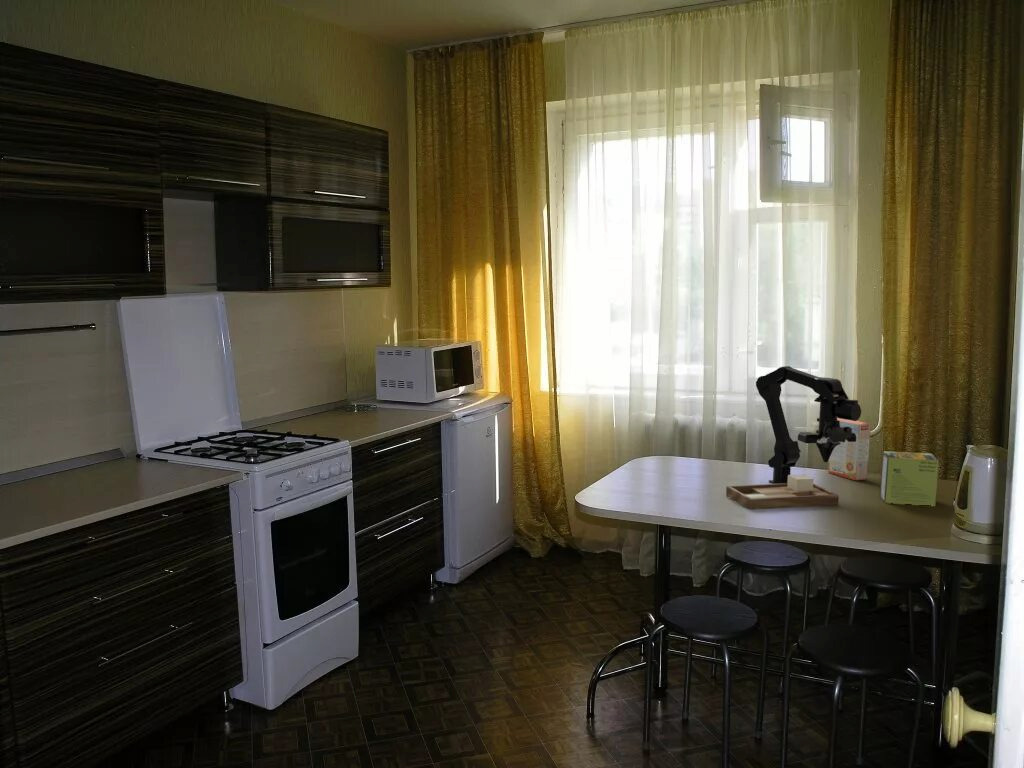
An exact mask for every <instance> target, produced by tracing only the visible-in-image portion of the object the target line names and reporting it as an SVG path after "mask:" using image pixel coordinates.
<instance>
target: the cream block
mask: <svg viewBox="0 0 1024 768" xmlns="http://www.w3.org/2000/svg"><path fill="white" fill-rule="evenodd" d="M814 480H815V479H814V478H813V477H811V476H808V475H807V474H790V475H788V483H787V487H789V488H791V489H793V490H795V491H811V490H813V483H814Z"/></svg>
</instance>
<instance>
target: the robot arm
mask: <svg viewBox="0 0 1024 768" xmlns="http://www.w3.org/2000/svg"><path fill="white" fill-rule="evenodd" d="M756 379H757V380H756V381H755V387H756V390H757V392H758V394H759V396H760V397H761V398H762V400H764V402H765V404H766V410H767V411H768V416H769V420H770V423H771V427H772V432H773V434H774V438H775V442H774V447H773V456H772V457H771V458H770V459H769V460H767V463H768V468H772V471H773V472H772V479H769V480H768V482H769V483H770V484H780V483H788V475H791V470H792V469H791V467H796V464H797V462H798V461H799V459H800V458H801V453H802V451H801V449H800V447H799V442H801V443H804V444H816V447H817V449H818V450H819V453H820V455H821V458H822V461H823V463H829V458H830V456H831V453H832V451H833V450H834V448H835V447H836V446H837V445H840V444H841V443H839V442H845V441H846V440H847V441H848V442H856V438H857V436H856V434H855V433H853V432H852V429H851V428H850V427H840V422H839V420H837V418H840V419H846V420H852V421H859V419H860V418H861V416H862V408H861V406H860V404H859V400H858V399H849V396H848V395H847V393H846V391H845V390H844V387H843V385H842V381H841V380H840V379H838V378H834V377H832V378H831V377H821V376H820V377H819V376H816V375H814V374H811V373H808V372H805V371H802V370H799V369H797V368H794V367H791V366H790V365H788V366H787V365H786V366H780V367H778V368H776V369H775V370H773V371H771V372H769V373H766V374H765V375H761V376H759V377H758V378H756ZM786 381H790V382H793V383H797V384H798V385H802V386H803V387H807V388H809V389H811V390H813V392H814V393H816V394H818V396H817V397H816V398H815V399H814V402H815V403H819V416H818V417H817V418H816V422H818V429H816V430H815V431H816V432H815V433H812V432H811V431H801V432H799V433H798V435H797V440H793V439H792V438H791V435H790V433H789V429H788V425H787V421H786V418H785V414H784V410H783V407H782V402H781V394H782V385H783V384H784V383H786ZM798 441H799V442H798Z"/></svg>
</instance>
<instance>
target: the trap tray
mask: <svg viewBox="0 0 1024 768" xmlns="http://www.w3.org/2000/svg"><path fill="white" fill-rule="evenodd" d="M725 489H726V491H725V496H726V497H728V498H729V499H731V500H733V501H735V502H737V503H738V504H739V505H742V506H743V507H745V508H747V509H748V510H768V509H784V508H787V509H788V508H804V507H806V508H807V507H822V506H825V507H826V506H839V498H840V494H838V493H835V492H833V491H831V490H829V489H826V488H824V487H822V486H820V485H818V484H817V483H815V482H813V490H811V491H795V490H793V489H791V488H789V487H787V483H780V484H773V483H763V484H743V485H742V484H741V485H726V487H725Z"/></svg>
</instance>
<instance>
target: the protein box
mask: <svg viewBox="0 0 1024 768" xmlns="http://www.w3.org/2000/svg"><path fill="white" fill-rule="evenodd" d="M881 458H882V459H881V473H880V475H881V476H880V487H879V488H880V490H879V492H880V493H879V496H880V498H881V499H882V501H883V502H884V503H885V504H891V503H893V504H892V505H894V504H895V505H905V504H912V505H911V506H919V505H931V506H930V507H933V506H934V507H936V502H937V489H938V488H937V487H938V477H939V475H938V473H939V462H940V460H939V459H938V458H937V457H936V456H935V455H934V454H933V453H930V452H929V453H928V452H909V451H907V452H906V451H888V450H887V451H882V457H881Z"/></svg>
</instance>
